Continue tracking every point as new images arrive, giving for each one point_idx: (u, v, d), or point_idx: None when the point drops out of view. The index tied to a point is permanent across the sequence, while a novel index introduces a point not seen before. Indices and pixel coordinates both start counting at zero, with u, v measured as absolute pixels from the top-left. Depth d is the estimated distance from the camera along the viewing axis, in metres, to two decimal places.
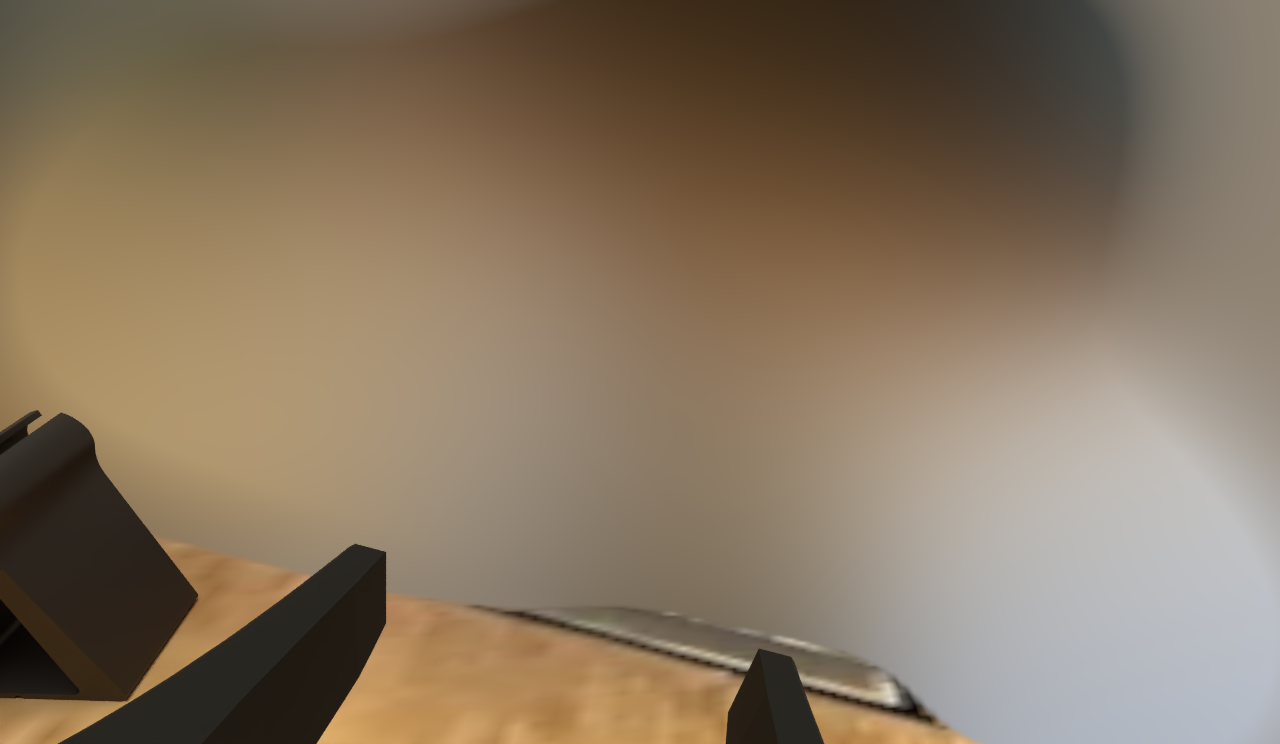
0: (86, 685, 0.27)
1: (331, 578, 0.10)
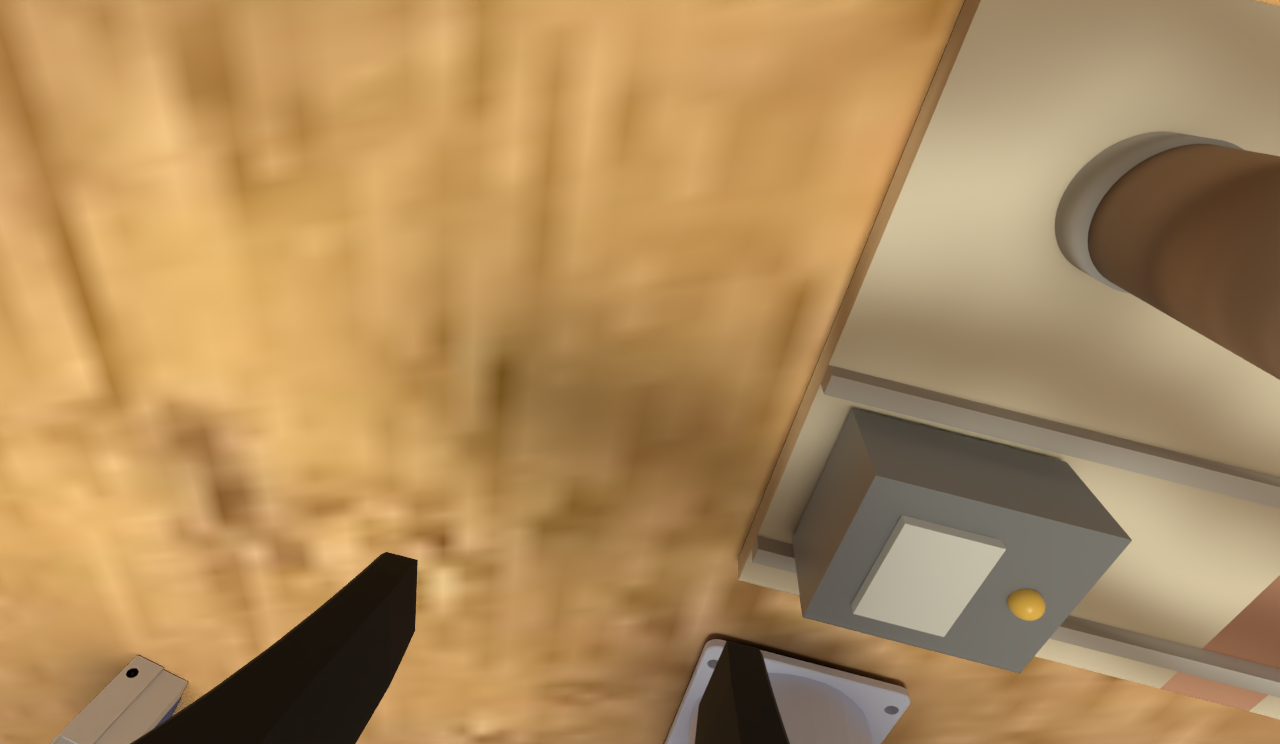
0: None
1: (366, 587, 0.10)
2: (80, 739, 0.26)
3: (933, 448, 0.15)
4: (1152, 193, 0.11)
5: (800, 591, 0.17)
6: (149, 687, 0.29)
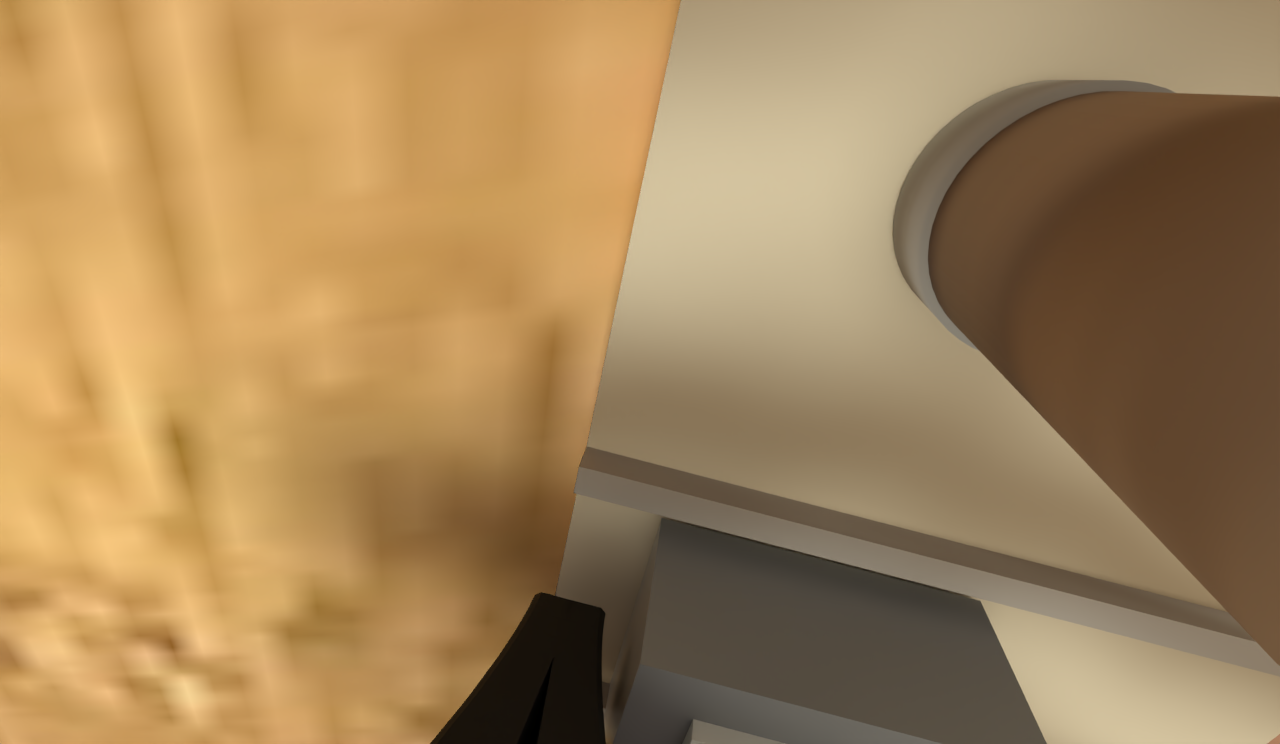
0: None
1: (537, 632, 0.10)
2: None
3: (768, 591, 0.10)
4: (1008, 184, 0.06)
5: None
6: None
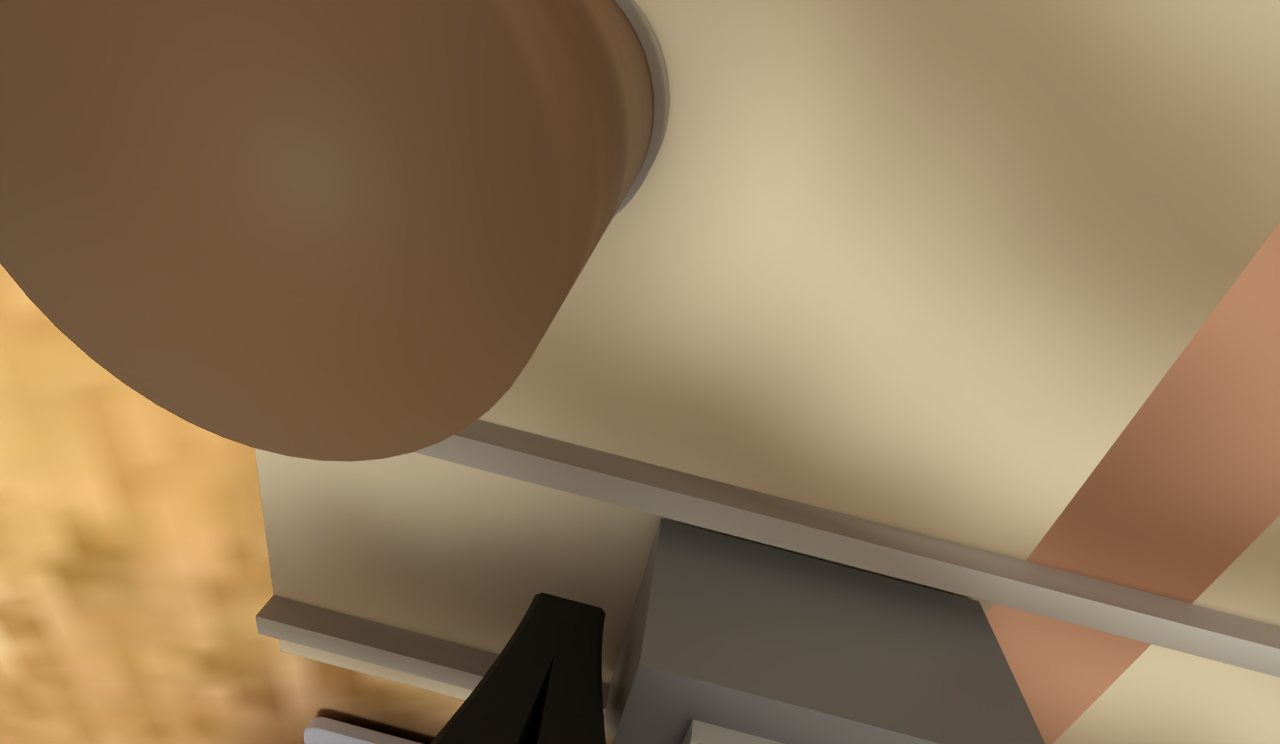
0: None
1: (537, 632, 0.10)
2: None
3: (767, 591, 0.10)
4: None
5: None
6: None
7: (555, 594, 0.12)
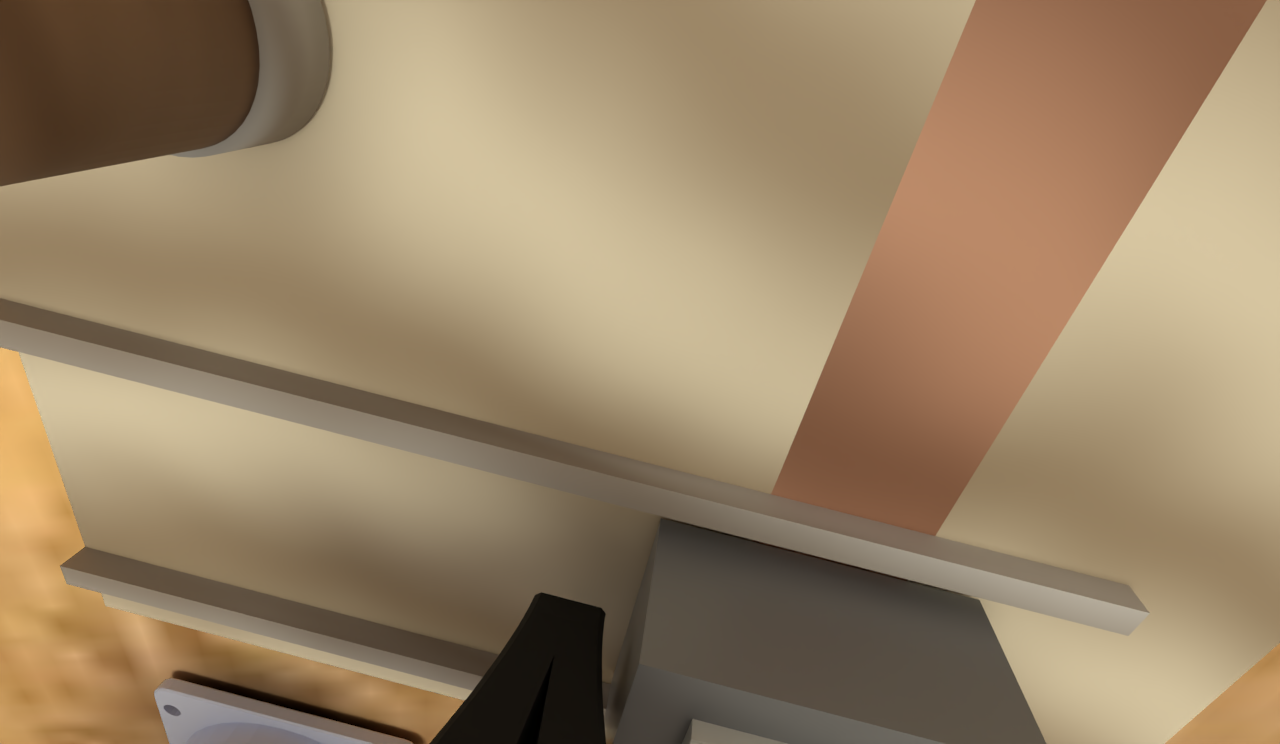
0: None
1: (537, 632, 0.10)
2: None
3: (767, 591, 0.10)
4: None
5: None
6: None
7: (345, 540, 0.13)
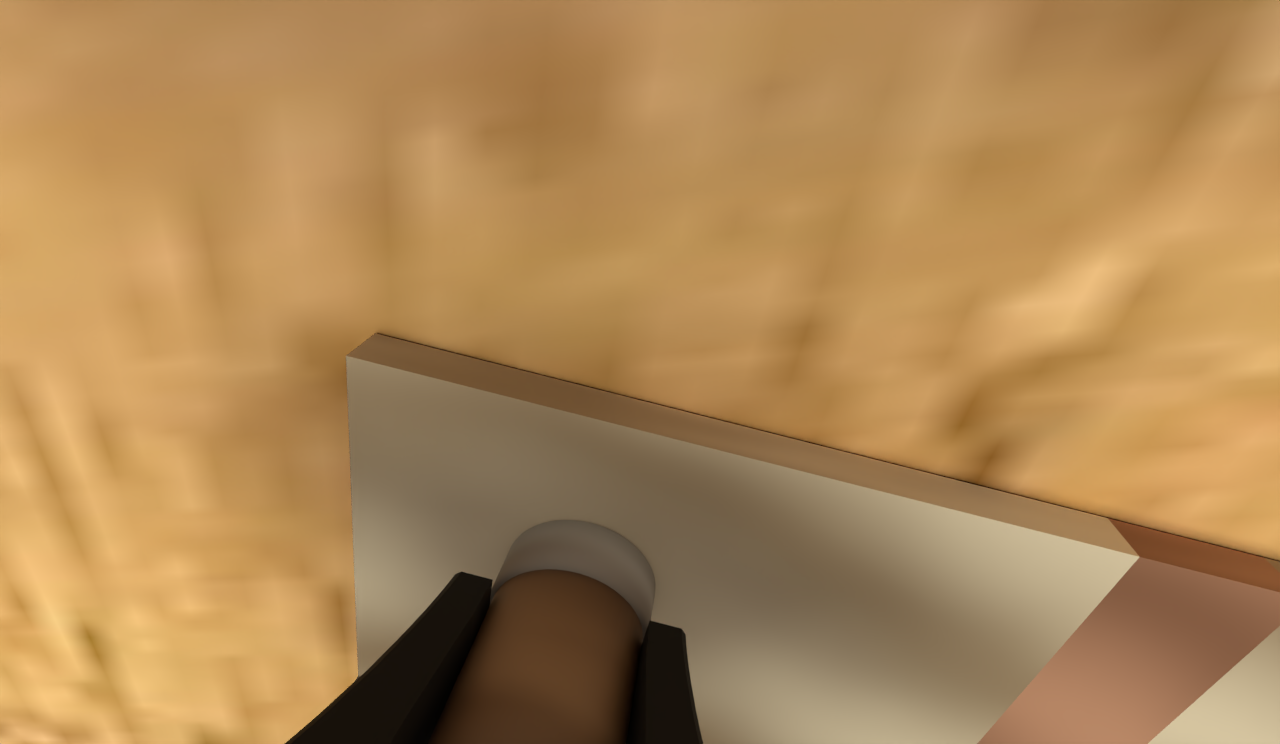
0: None
1: (448, 608, 0.10)
2: None
3: None
4: None
5: None
6: None
7: None
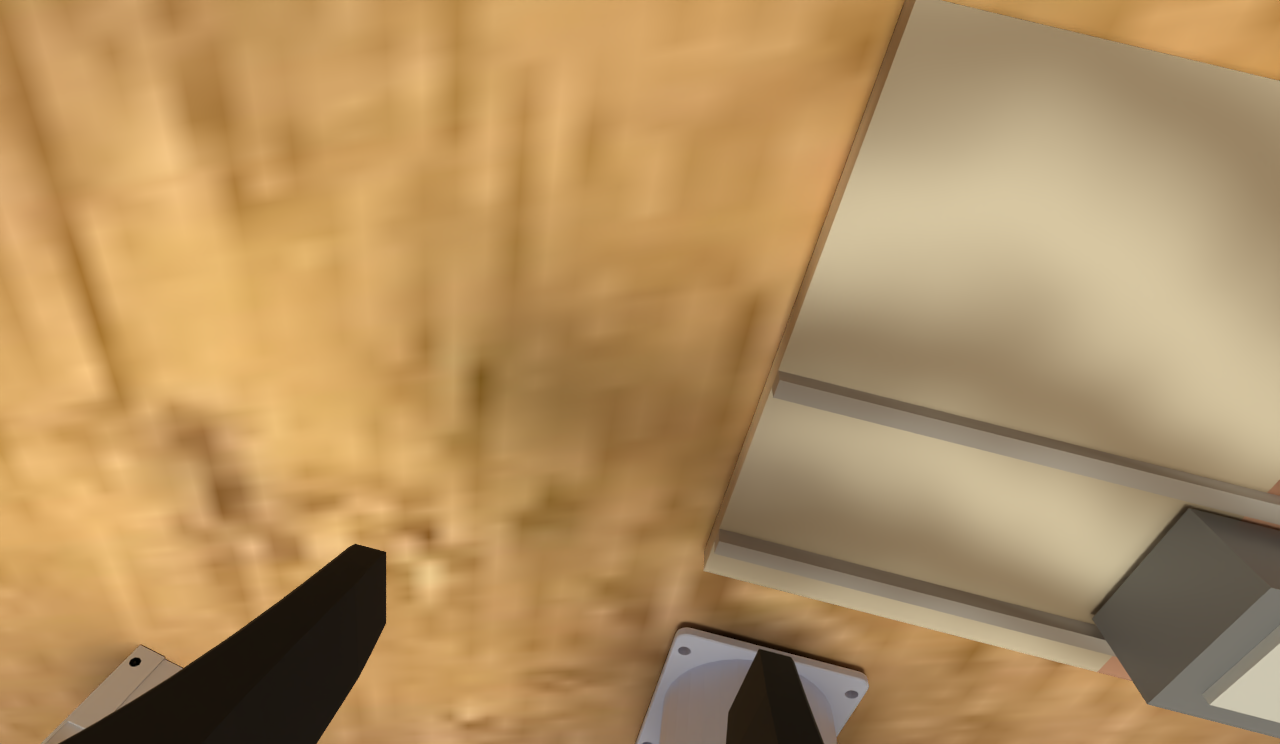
0: None
1: (331, 578, 0.10)
2: (86, 724, 0.27)
3: None
4: None
5: (1132, 676, 0.18)
6: (151, 675, 0.30)
7: (933, 523, 0.19)
